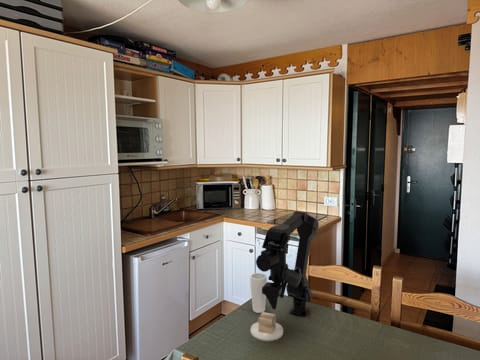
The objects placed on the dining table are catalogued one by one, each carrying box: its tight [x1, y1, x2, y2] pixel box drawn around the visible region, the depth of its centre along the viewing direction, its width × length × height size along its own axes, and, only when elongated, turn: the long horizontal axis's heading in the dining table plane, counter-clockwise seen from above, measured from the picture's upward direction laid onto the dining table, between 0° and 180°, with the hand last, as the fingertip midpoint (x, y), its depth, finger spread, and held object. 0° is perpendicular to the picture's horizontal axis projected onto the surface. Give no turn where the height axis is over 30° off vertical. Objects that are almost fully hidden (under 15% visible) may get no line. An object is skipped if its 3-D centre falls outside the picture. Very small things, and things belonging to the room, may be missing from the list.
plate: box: [250, 321, 284, 342], centre depth 126 cm, size 12×12×1 cm
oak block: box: [257, 311, 276, 334], centre depth 125 cm, size 5×5×5 cm
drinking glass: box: [249, 272, 268, 314], centre depth 141 cm, size 7×7×15 cm
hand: (278, 303), depth 124 cm, fingers open, 9 cm apart
